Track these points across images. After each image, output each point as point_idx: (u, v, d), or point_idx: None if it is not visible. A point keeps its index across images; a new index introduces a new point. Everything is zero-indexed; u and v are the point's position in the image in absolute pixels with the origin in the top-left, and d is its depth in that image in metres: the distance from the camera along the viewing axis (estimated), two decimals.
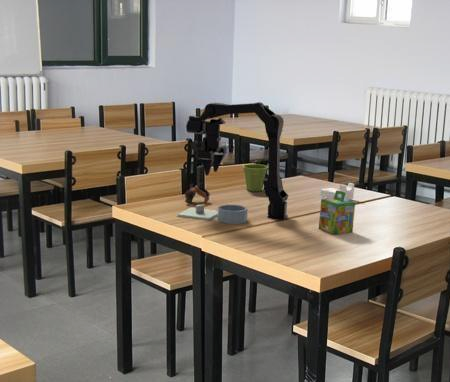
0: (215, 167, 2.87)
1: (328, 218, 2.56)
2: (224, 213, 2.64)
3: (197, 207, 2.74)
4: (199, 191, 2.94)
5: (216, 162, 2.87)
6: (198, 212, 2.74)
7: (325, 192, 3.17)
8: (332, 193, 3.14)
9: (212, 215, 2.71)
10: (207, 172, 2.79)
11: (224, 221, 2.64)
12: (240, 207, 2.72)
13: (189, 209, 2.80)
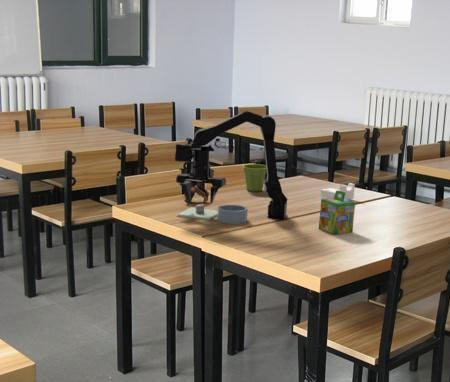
0: None
1: (328, 218, 2.56)
2: (224, 213, 2.64)
3: (197, 207, 2.74)
4: (198, 191, 2.94)
5: None
6: (198, 212, 2.74)
7: (325, 192, 3.17)
8: (332, 193, 3.14)
9: (212, 215, 2.71)
10: None
11: (224, 221, 2.64)
12: (240, 207, 2.72)
13: (189, 209, 2.80)
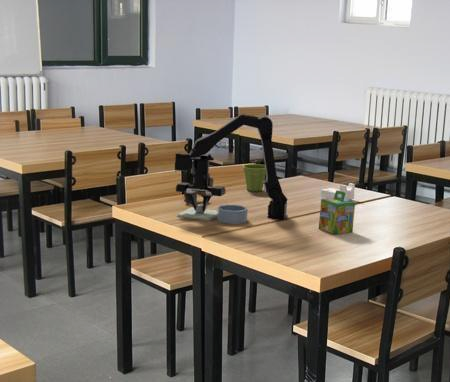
0: None
1: (328, 218, 2.56)
2: (224, 213, 2.64)
3: (197, 207, 2.74)
4: (198, 191, 2.94)
5: None
6: (198, 212, 2.74)
7: (326, 192, 3.17)
8: (332, 193, 3.14)
9: (212, 215, 2.71)
10: None
11: (224, 221, 2.64)
12: (240, 207, 2.72)
13: (189, 209, 2.80)
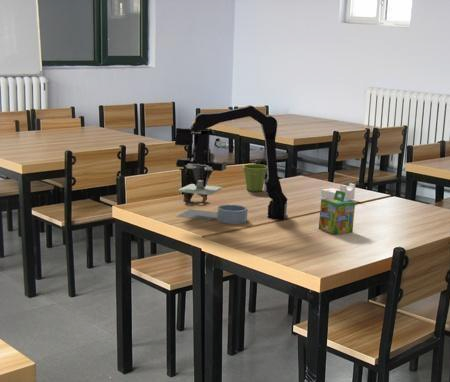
0: None
1: (328, 218, 2.56)
2: (224, 213, 2.64)
3: (198, 182, 2.72)
4: None
5: None
6: (199, 187, 2.72)
7: (326, 192, 3.16)
8: (333, 193, 3.13)
9: (213, 190, 2.70)
10: None
11: (224, 221, 2.64)
12: (240, 207, 2.72)
13: (189, 185, 2.78)
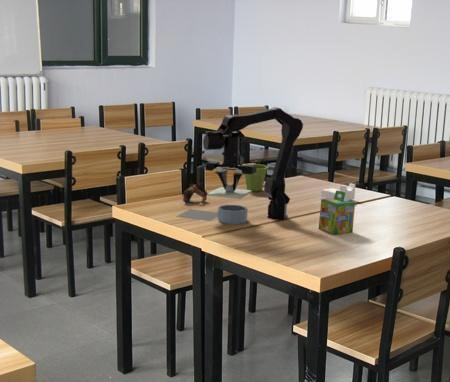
0: None
1: (328, 218, 2.56)
2: (224, 213, 2.64)
3: (227, 186, 2.66)
4: (197, 190, 2.95)
5: None
6: (228, 191, 2.66)
7: (326, 192, 3.16)
8: (333, 193, 3.13)
9: (243, 194, 2.64)
10: None
11: (224, 221, 2.64)
12: (240, 207, 2.72)
13: (219, 188, 2.72)
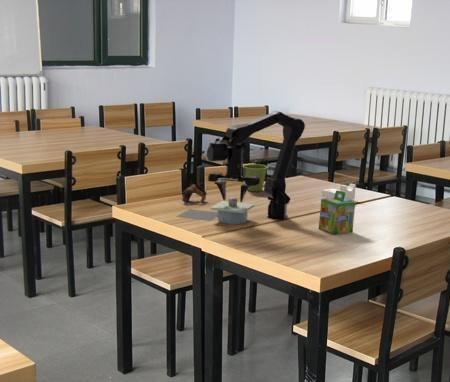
0: None
1: (328, 218, 2.56)
2: (224, 213, 2.64)
3: (230, 200, 2.66)
4: (196, 190, 2.95)
5: None
6: (231, 205, 2.66)
7: (326, 192, 3.16)
8: (333, 194, 3.13)
9: (246, 208, 2.64)
10: None
11: (224, 221, 2.64)
12: None
13: (221, 202, 2.73)
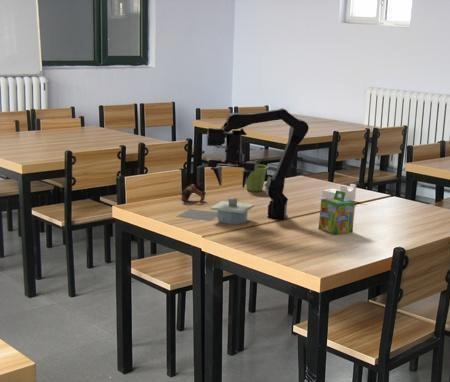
0: None
1: (328, 218, 2.56)
2: (224, 213, 2.64)
3: (230, 200, 2.66)
4: (195, 190, 2.96)
5: None
6: (231, 205, 2.66)
7: (327, 193, 3.16)
8: (333, 194, 3.13)
9: (246, 208, 2.64)
10: None
11: (224, 221, 2.64)
12: None
13: (221, 202, 2.73)
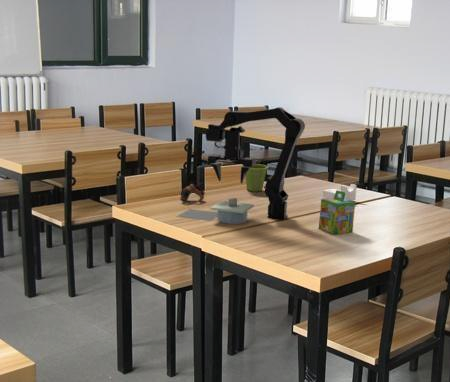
0: None
1: (328, 218, 2.56)
2: (224, 213, 2.64)
3: (230, 200, 2.66)
4: (194, 189, 2.97)
5: None
6: (231, 205, 2.66)
7: (327, 193, 3.15)
8: (334, 194, 3.12)
9: (246, 208, 2.64)
10: None
11: (224, 221, 2.64)
12: None
13: (221, 202, 2.73)
